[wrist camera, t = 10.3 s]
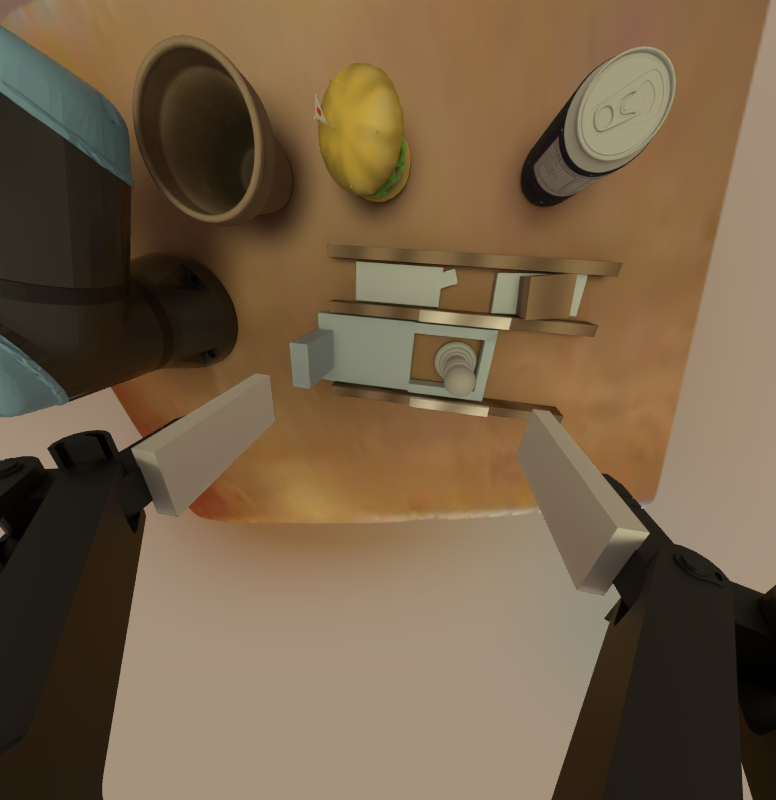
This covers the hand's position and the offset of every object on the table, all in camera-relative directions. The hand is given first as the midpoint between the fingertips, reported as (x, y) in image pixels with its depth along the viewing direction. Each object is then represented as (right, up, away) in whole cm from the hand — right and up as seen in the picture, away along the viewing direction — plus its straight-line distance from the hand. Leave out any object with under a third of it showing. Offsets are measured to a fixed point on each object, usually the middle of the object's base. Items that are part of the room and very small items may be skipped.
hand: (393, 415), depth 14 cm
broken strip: (+9, +14, +18) cm, 24 cm away
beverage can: (+16, +23, +13) cm, 31 cm away
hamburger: (-1, +25, +15) cm, 29 cm away
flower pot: (-14, +26, +17) cm, 34 cm away
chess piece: (+9, +6, +22) cm, 24 cm away
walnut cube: (+16, +12, +16) cm, 26 cm away
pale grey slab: (+2, +7, +22) cm, 24 cm away
